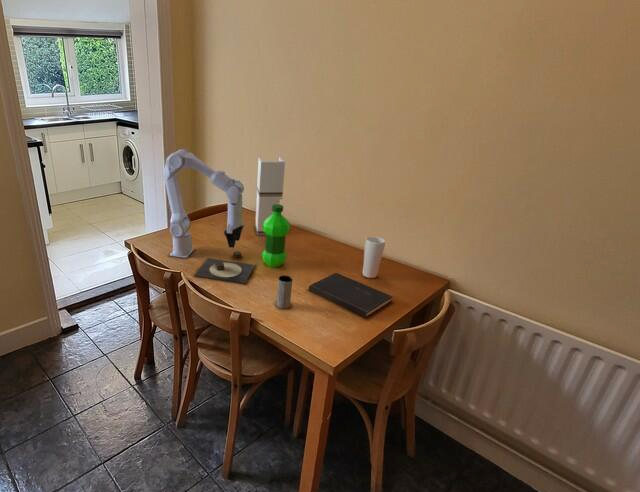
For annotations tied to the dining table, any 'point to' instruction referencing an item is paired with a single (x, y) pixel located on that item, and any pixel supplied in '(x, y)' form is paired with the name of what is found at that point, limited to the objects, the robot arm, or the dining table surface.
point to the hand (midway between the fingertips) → (234, 243)
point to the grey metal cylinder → (284, 291)
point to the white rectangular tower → (268, 190)
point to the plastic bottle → (275, 237)
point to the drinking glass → (372, 256)
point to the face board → (226, 271)
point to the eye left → (219, 266)
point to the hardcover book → (351, 294)
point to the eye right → (237, 255)
